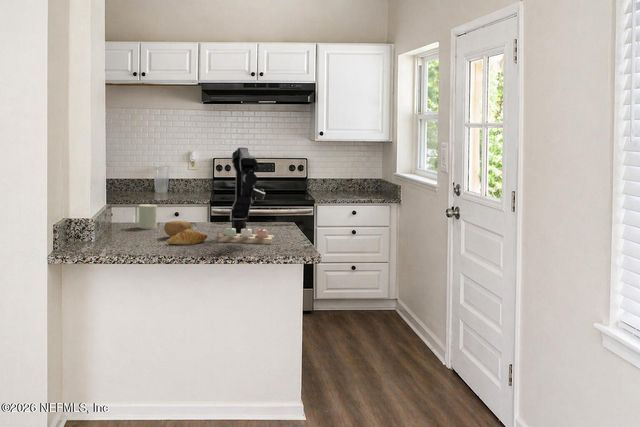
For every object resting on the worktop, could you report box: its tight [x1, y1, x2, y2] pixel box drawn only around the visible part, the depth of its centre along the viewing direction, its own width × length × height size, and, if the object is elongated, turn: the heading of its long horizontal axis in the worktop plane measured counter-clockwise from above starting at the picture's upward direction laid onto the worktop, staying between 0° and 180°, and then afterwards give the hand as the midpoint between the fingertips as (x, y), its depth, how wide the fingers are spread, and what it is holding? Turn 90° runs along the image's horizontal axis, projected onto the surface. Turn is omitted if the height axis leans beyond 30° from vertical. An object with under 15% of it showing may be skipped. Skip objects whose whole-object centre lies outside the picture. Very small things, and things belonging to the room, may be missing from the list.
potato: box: [163, 220, 192, 238], centre depth 384 cm, size 10×14×8 cm
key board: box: [217, 232, 275, 245], centre depth 380 cm, size 25×11×2 cm, turn 87°
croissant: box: [166, 228, 208, 246], centre depth 369 cm, size 21×10×8 cm
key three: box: [256, 228, 268, 238], centre depth 380 cm, size 5×5×6 cm
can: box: [138, 203, 158, 230], centre depth 411 cm, size 9×9×12 cm
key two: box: [241, 228, 252, 237], centre depth 380 cm, size 5×5×6 cm
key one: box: [224, 227, 237, 237], centre depth 381 cm, size 5×5×6 cm
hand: (246, 216), depth 379 cm, fingers closed
